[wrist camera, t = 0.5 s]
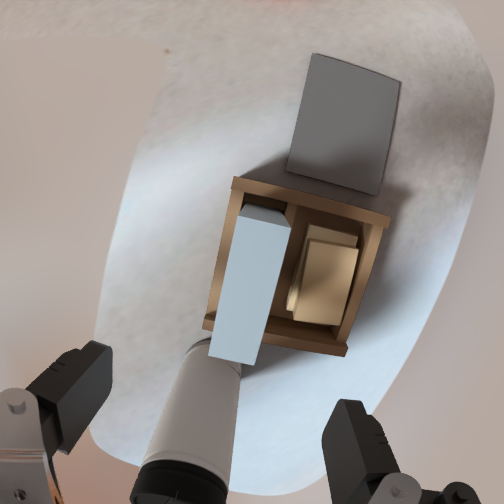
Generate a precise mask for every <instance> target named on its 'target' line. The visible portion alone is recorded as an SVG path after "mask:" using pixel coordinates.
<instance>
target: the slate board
mask: <svg viewBox="0 0 504 504" xmlns="http://www.w3.org/2000/svg"><path fill="white" fill-rule="evenodd" d="M290 231H291V227H290V225H289V223H288V222H287V220H286V218H285V217H284V215H283V214H282V212H281V210H280V209H276V208H272V207H267V206H263V205H259V204H254V203H250V202H247V203H246V204H245V206H244V207H243V209H242V210H241V211H240V213H239V214H238V217H237V221H236V225H235V230H234V235H233V239H232V244H231V248H230V253H229V257H228V262H227V267H226V271H225V276H224V281H223V285H222V290H221V295H220V299H219V304H218V309H217V314H216V319H215V323H214V328H213V333H212V338H211V343H210V348H209V353H208V356H212V357H217V358H221V359H225V360H230V361H234V362H239V363H244V364H248V365H253V366H254V364H255V361H256V357H257V354H258V350H259V347H260V343H261V340H262V336H263V333H264V329H265V325H266V322H267V318H268V315H269V311H270V307H271V304H272V300H273V296H274V293H275V289H276V285H277V281H278V278H279V274H280V270H281V266H282V262H283V259H284V255H285V251H286V247H287V243H288V239H289V235H290Z"/></svg>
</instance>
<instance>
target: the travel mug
mask: <svg viewBox="0 0 504 504" xmlns="http://www.w3.org/2000/svg"><path fill="white" fill-rule="evenodd" d="M210 343H211V340H205V341H201V342H198V343H196V344H194V345H193V346H192V347H191V348H190V349H189V350H188V352H187V353H186V356H185V358H184V361H183V363H182V365H181V368H180V370H179V373H178V375H177V377H176V380H175V382H174V385H173V387H172V389H171V392H170V394H169V397H168V399H167V402H166V404H165V407H164V409H163V411H162V414H161V416H160V419H159V421H158V424H157V426H156V429H155V431H154V434H153V436H152V439H151V441H150V444H149V446H148V449H147V451H146V454H145V456H144V459H143V462H142V464H141V466H140V470H139V474H138V478H137V479H136V482H135V484H134V487H133V489H132V492H131V495H130V502H131V503H132V504H226V498H227V494H228V489H229V480H230V471H231V462H232V453H233V444H234V435H235V426H236V417H237V408H238V399H239V390H240V381H241V371H242V363H239V362H234V361H230V360H225V359H221V358H217V357H212V356H208V353H209V348H210Z"/></svg>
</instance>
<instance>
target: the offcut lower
mask: <svg viewBox="0 0 504 504" xmlns="http://www.w3.org/2000/svg"><path fill="white" fill-rule="evenodd" d="M308 238H312V239H318V240H324V241H330V242H335V243H341V244H347V245H352V246H355V247H356V243H357V240H358V236H356V235H355V234H352V233H349V232H345V231H341V230H337V229H333V228H329V227H325V226H321V225H318V224H314V223H310V222H307V225H306V229H305V233H304V237H303V241H302V244H301V248H300V252H299V256H298V259H297V263H296V267H295V271H294V274H293V278H292V281H291V285H290V289H289V292H288V296H287V299H286V303H285V305H286V310H289V311H293V308H294V303H295V298H296V294H297V289H298V284H299V279H300V275H301V270H302V265H303V260H304V255H305V250H306V245H307V239H308Z"/></svg>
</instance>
